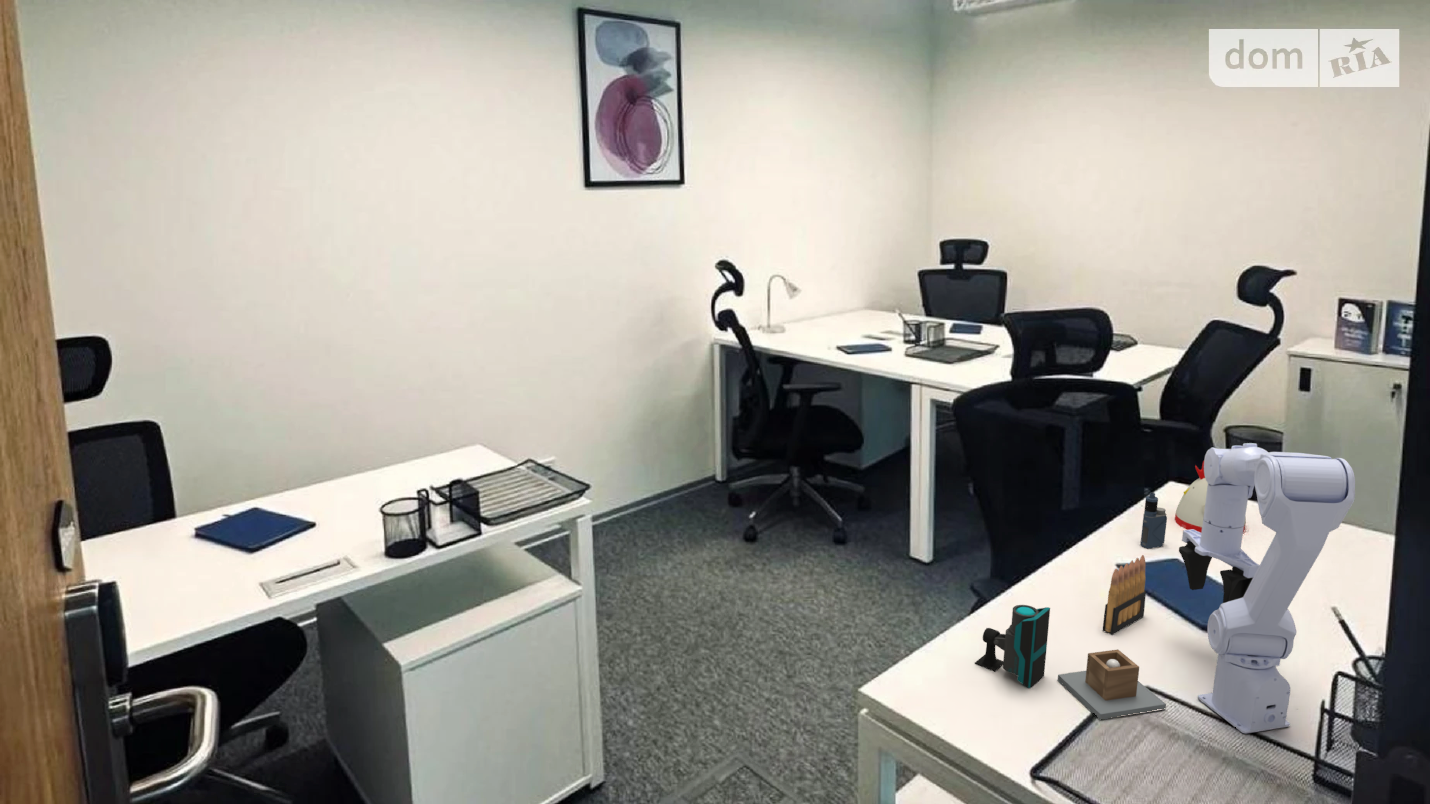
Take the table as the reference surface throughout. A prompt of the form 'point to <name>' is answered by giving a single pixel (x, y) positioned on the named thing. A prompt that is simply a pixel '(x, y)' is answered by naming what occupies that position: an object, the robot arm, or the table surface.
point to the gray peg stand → (1109, 707)
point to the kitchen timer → (1194, 504)
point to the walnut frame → (1112, 675)
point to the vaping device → (1153, 524)
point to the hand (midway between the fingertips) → (1212, 599)
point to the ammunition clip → (1125, 597)
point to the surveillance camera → (1020, 645)
